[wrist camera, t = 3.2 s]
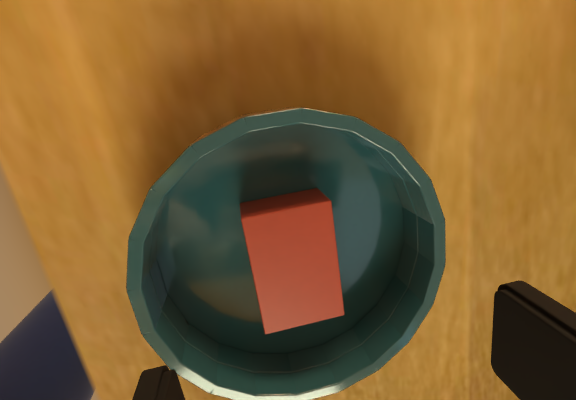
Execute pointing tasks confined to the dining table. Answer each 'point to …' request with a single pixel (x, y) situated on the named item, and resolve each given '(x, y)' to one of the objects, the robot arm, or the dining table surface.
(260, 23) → the dining table surface
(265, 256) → the red rectangular prism
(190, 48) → the dining table surface
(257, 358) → the bowl
